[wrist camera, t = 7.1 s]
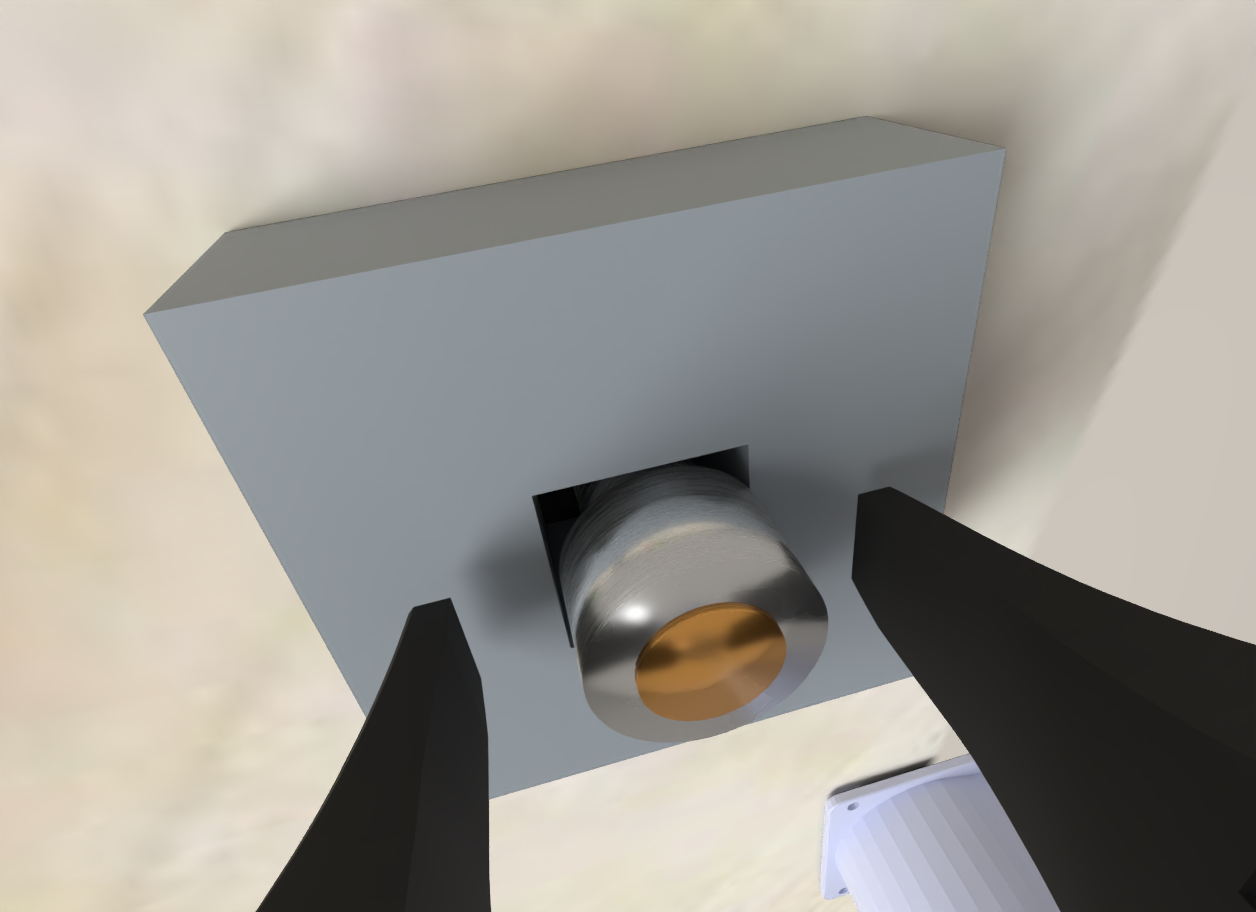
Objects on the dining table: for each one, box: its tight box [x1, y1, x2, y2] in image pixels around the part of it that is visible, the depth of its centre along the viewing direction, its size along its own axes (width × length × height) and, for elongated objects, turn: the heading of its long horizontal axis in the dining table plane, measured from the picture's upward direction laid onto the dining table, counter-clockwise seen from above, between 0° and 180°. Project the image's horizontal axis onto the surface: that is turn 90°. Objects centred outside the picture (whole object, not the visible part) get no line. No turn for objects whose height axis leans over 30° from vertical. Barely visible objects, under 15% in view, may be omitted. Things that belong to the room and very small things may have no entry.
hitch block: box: [143, 116, 1006, 799], centre depth 14 cm, size 12×12×4 cm
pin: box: [559, 458, 828, 743], centre depth 13 cm, size 4×4×7 cm
